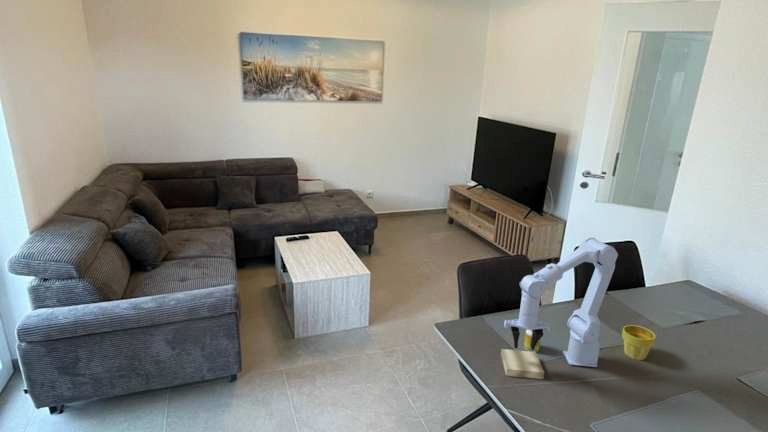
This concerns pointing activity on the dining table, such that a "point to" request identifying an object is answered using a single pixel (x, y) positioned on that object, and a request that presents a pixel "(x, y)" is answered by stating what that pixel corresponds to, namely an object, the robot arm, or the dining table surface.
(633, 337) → the plant pot
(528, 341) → the supplement bottle
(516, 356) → the oak riser
